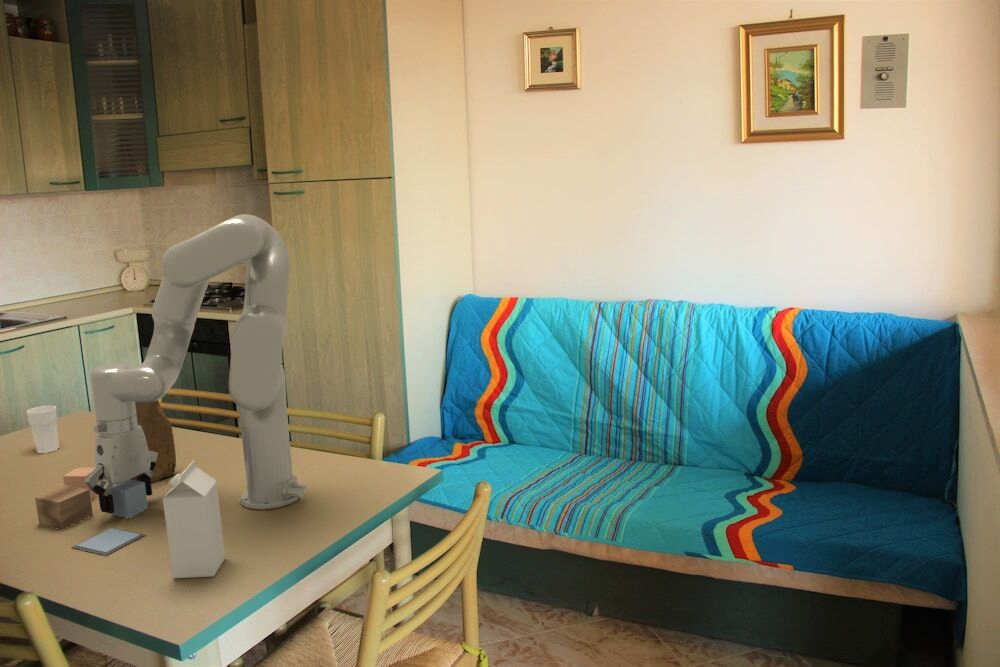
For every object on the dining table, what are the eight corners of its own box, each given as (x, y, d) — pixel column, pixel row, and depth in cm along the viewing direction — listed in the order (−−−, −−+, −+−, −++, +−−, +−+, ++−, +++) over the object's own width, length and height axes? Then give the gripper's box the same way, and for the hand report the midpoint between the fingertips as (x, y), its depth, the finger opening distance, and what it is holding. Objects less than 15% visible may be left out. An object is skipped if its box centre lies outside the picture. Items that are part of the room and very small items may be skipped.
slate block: (148, 508, 176) (144, 482, 174) (128, 518, 171) (125, 490, 170) (131, 505, 178) (127, 478, 176) (111, 514, 173) (107, 487, 172)
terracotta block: (101, 493, 185) (98, 467, 184) (89, 502, 180) (85, 476, 179) (80, 493, 186) (76, 467, 184) (67, 502, 181) (63, 476, 180)
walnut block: (93, 516, 173) (89, 489, 172) (63, 530, 167) (59, 502, 165) (69, 512, 176) (65, 485, 175) (39, 525, 170) (35, 497, 168)
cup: (36, 448, 217) (29, 407, 215) (64, 444, 219) (58, 404, 217) (30, 456, 211) (23, 414, 209) (59, 452, 213) (53, 411, 211)
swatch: (145, 535, 163) (145, 533, 163) (106, 556, 154) (105, 554, 154) (111, 528, 166) (111, 526, 166) (71, 548, 158) (71, 546, 158)
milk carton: (225, 558, 152) (214, 459, 148) (214, 577, 145) (201, 474, 141) (186, 560, 152) (174, 461, 148) (172, 579, 145) (159, 476, 141)
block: (132, 488, 187) (120, 402, 183) (122, 479, 193) (111, 396, 189) (180, 475, 194) (170, 392, 190) (170, 467, 199) (160, 386, 195)
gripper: (94, 439, 161) (105, 522, 165) (164, 414, 177) (172, 490, 180) (67, 435, 164) (78, 516, 168) (138, 410, 180) (147, 485, 183)
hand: (127, 503), depth 174 cm, fingers open, 9 cm apart
